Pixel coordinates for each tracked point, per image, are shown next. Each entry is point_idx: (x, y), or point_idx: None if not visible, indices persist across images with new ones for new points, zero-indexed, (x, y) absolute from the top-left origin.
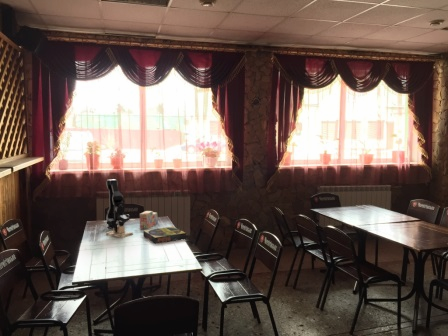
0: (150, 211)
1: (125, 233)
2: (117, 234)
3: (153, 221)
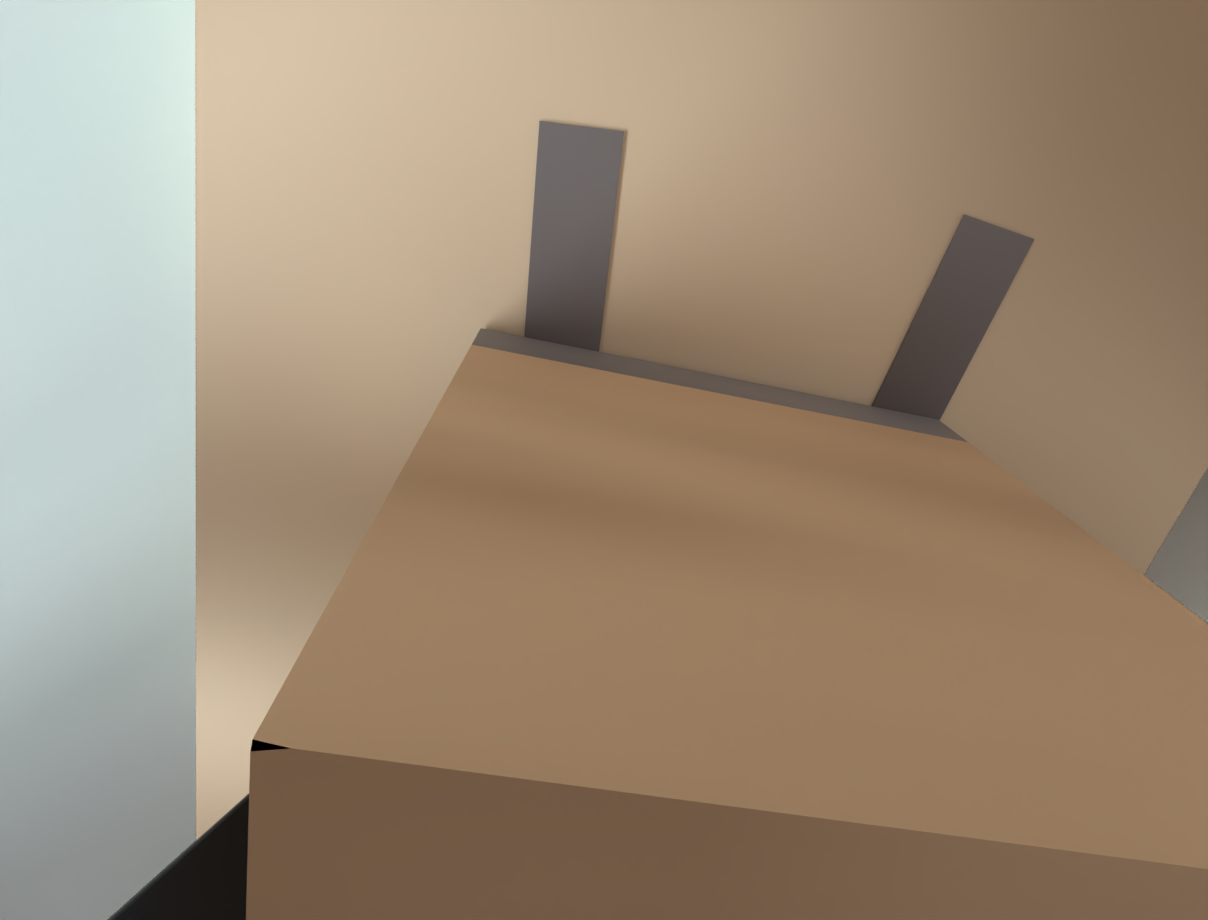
0: None
1: (755, 51)
2: (1124, 512)
3: None
